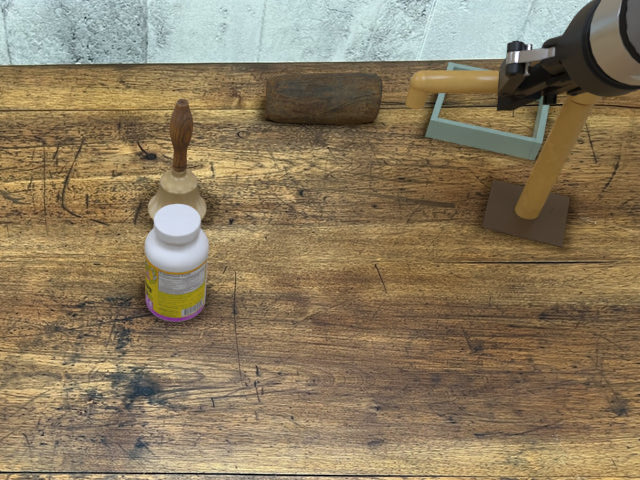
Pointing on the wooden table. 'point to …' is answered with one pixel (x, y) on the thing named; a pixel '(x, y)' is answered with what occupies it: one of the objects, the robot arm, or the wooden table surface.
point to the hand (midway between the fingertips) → (505, 96)
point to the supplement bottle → (176, 264)
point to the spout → (464, 85)
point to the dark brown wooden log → (324, 98)
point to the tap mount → (539, 186)
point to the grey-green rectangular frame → (487, 130)
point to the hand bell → (179, 167)
